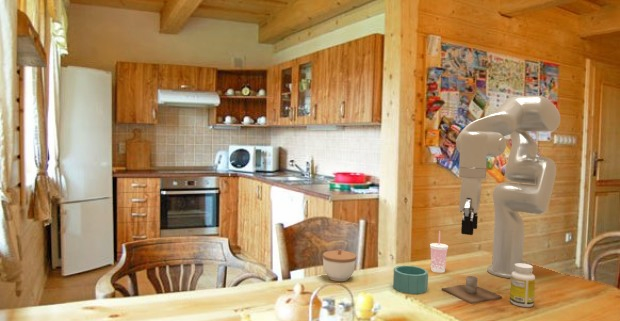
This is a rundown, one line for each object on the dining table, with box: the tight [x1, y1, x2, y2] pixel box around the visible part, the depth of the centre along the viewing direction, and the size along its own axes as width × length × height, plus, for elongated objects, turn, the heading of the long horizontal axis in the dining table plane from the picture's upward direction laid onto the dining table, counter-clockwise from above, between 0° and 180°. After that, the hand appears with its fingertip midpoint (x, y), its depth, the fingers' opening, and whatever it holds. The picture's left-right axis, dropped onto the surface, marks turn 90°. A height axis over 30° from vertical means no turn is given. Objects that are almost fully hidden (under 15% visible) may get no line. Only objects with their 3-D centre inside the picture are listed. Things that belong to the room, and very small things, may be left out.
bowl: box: [392, 264, 429, 295], centre depth 136 cm, size 10×10×6 cm
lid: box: [441, 275, 503, 305], centre depth 133 cm, size 12×12×6 cm
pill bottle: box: [509, 263, 536, 308], centre depth 126 cm, size 6×6×11 cm
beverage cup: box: [429, 230, 449, 274], centre depth 155 cm, size 6×6×14 cm
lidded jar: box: [322, 248, 357, 282], centre depth 144 cm, size 11×11×9 cm
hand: (469, 231), depth 132 cm, fingers open, 9 cm apart
